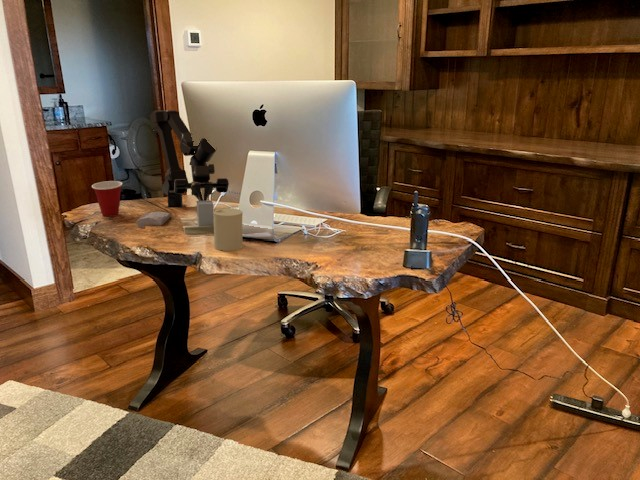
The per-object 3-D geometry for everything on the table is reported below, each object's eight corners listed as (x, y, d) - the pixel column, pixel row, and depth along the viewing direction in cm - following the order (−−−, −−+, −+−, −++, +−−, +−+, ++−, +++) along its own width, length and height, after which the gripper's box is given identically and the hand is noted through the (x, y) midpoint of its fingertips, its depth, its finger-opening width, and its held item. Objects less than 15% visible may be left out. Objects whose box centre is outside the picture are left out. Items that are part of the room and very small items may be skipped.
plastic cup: (88, 214, 195) (85, 183, 191) (113, 209, 203) (110, 179, 200) (106, 220, 189) (103, 187, 185) (131, 214, 198) (128, 183, 194)
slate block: (197, 225, 183) (196, 200, 180) (211, 224, 184) (211, 200, 181) (199, 229, 178) (198, 204, 175) (213, 228, 180) (213, 203, 177)
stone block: (136, 233, 182) (163, 228, 181) (132, 220, 180) (160, 215, 180) (147, 225, 193) (173, 221, 193) (143, 212, 192) (169, 208, 192)
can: (217, 241, 170) (217, 206, 167) (245, 242, 170) (245, 207, 166) (210, 250, 162) (209, 213, 158) (239, 251, 161) (239, 214, 158)
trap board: (180, 221, 191) (180, 212, 190) (221, 219, 196) (221, 211, 195) (185, 237, 173) (184, 228, 172) (229, 234, 178) (229, 225, 177)
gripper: (173, 156, 178) (177, 194, 172) (227, 155, 184) (233, 192, 178) (172, 174, 188) (176, 211, 181) (224, 173, 194) (229, 209, 187)
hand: (204, 206), depth 182 cm, fingers closed
